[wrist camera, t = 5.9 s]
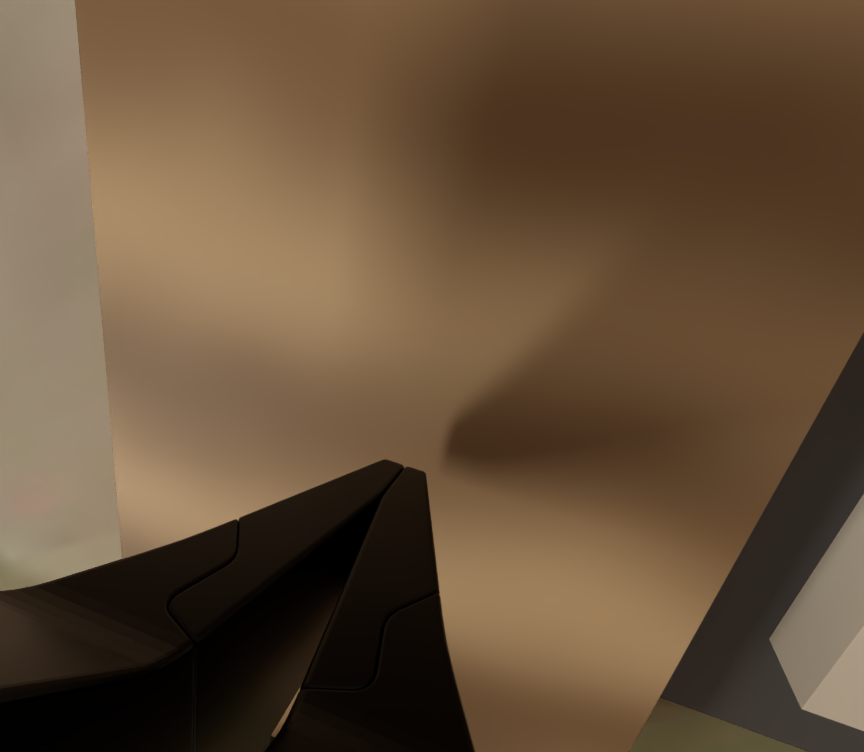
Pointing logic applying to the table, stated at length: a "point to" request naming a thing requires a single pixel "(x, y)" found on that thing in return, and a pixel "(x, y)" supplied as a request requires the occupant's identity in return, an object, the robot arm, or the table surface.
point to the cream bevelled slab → (829, 631)
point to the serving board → (484, 297)
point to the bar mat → (780, 584)
